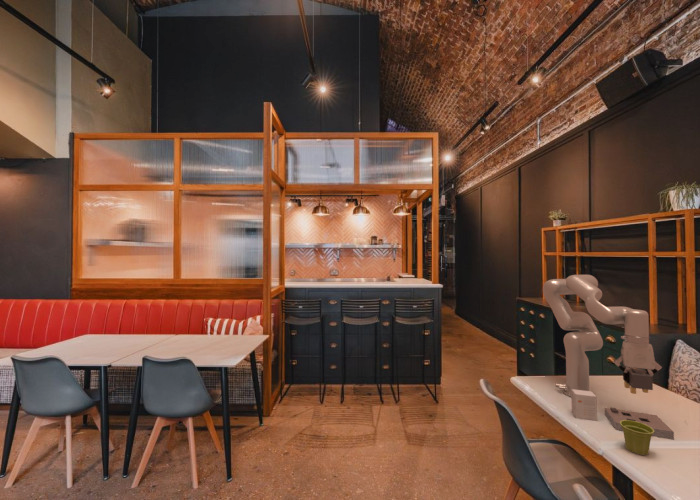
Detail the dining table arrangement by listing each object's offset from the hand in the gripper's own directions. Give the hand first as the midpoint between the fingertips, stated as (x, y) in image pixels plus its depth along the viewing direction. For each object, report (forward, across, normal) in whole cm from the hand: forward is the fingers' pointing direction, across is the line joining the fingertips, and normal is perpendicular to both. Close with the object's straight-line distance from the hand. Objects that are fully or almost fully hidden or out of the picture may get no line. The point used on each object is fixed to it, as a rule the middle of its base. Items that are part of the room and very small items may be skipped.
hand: (637, 382), depth 136 cm
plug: (+3, 0, 0) cm, 3 cm away
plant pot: (+18, -8, -21) cm, 29 cm away
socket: (+18, -1, 0) cm, 18 cm away
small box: (+18, -18, +1) cm, 26 cm away
